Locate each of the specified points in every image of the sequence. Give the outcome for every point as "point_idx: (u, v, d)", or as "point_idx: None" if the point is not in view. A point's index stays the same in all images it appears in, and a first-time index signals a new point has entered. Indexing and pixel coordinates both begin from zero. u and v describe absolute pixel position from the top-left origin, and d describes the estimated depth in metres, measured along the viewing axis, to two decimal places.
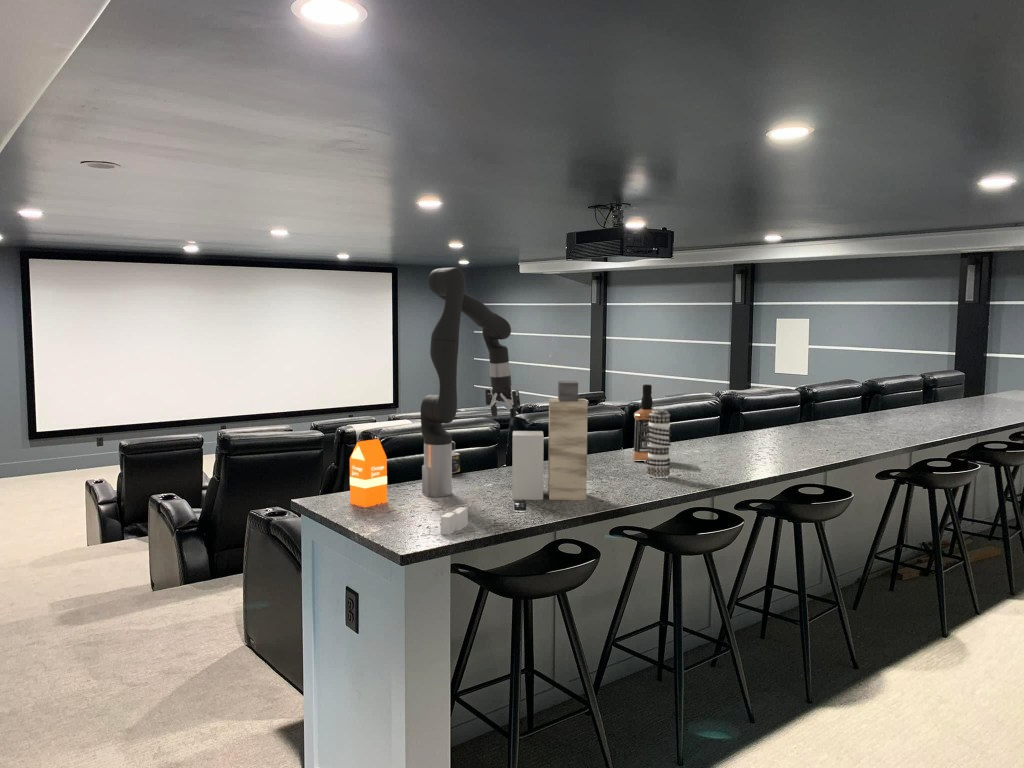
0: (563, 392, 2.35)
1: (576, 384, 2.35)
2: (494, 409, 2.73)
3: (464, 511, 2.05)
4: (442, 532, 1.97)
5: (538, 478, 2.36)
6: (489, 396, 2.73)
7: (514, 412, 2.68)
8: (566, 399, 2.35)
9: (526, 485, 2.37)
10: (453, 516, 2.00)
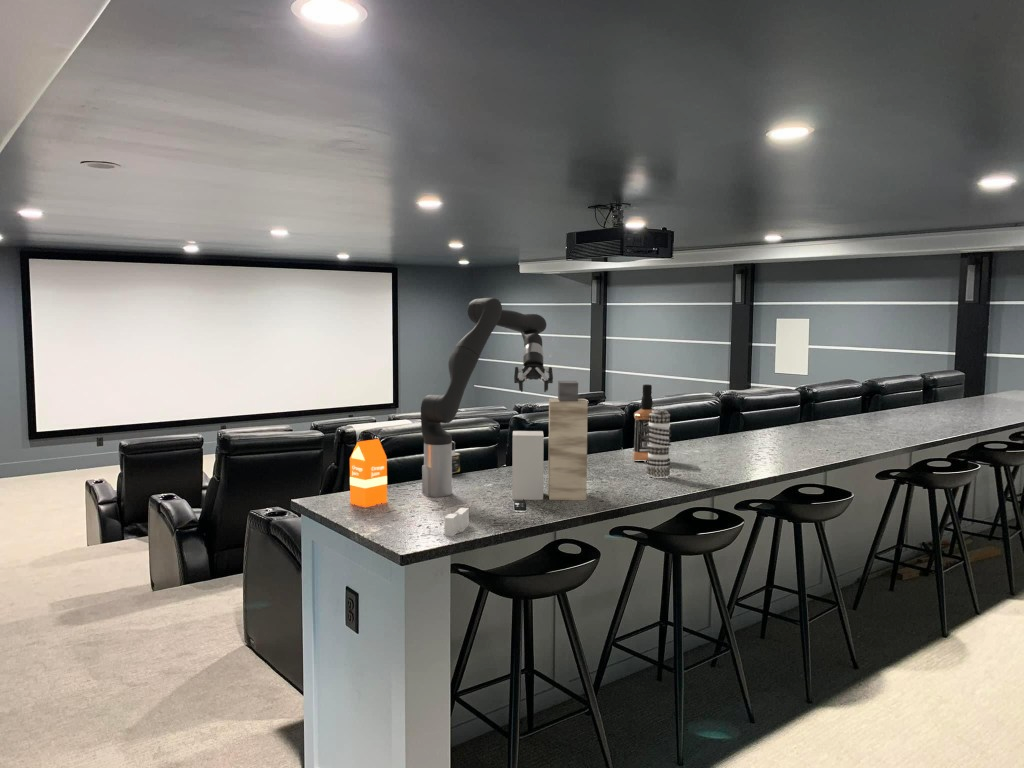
0: (563, 392, 2.35)
1: (576, 384, 2.35)
2: (522, 384, 2.67)
3: (466, 512, 2.04)
4: (446, 533, 1.96)
5: (538, 478, 2.36)
6: (517, 374, 2.71)
7: (547, 385, 2.67)
8: (566, 399, 2.35)
9: (526, 485, 2.37)
10: (456, 517, 1.99)
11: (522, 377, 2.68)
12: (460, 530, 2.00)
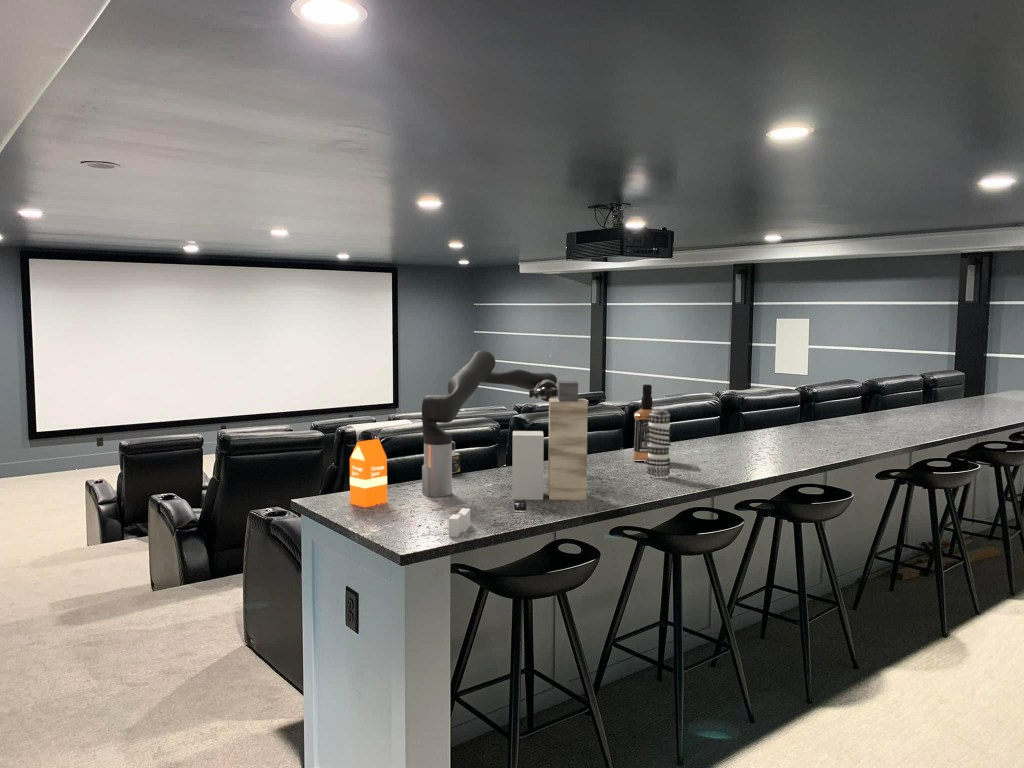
0: (563, 392, 2.35)
1: (576, 384, 2.35)
2: None
3: (468, 512, 2.03)
4: (450, 534, 1.95)
5: (538, 478, 2.36)
6: (532, 392, 2.71)
7: None
8: (566, 399, 2.35)
9: (526, 485, 2.37)
10: (460, 518, 1.98)
11: (537, 390, 2.68)
12: (463, 531, 1.99)
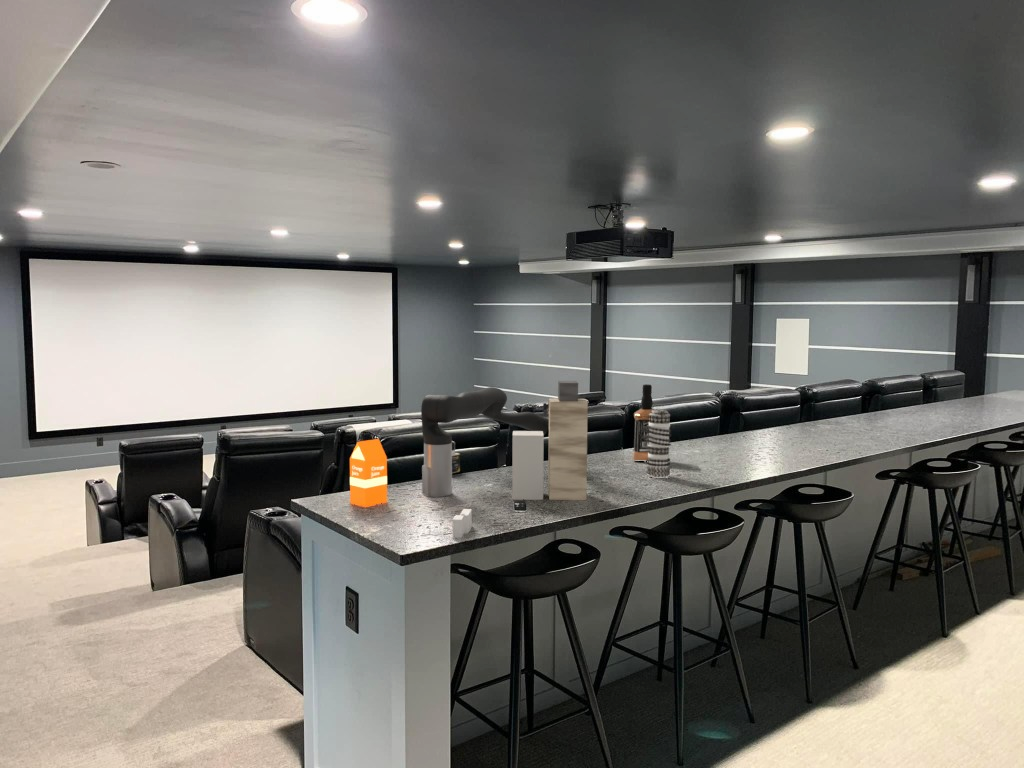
0: (563, 392, 2.35)
1: (576, 384, 2.35)
2: None
3: (470, 513, 2.03)
4: (454, 535, 1.94)
5: (538, 478, 2.36)
6: (546, 408, 2.69)
7: None
8: (566, 399, 2.35)
9: (526, 485, 2.37)
10: (463, 518, 1.97)
11: None
12: (466, 531, 1.99)
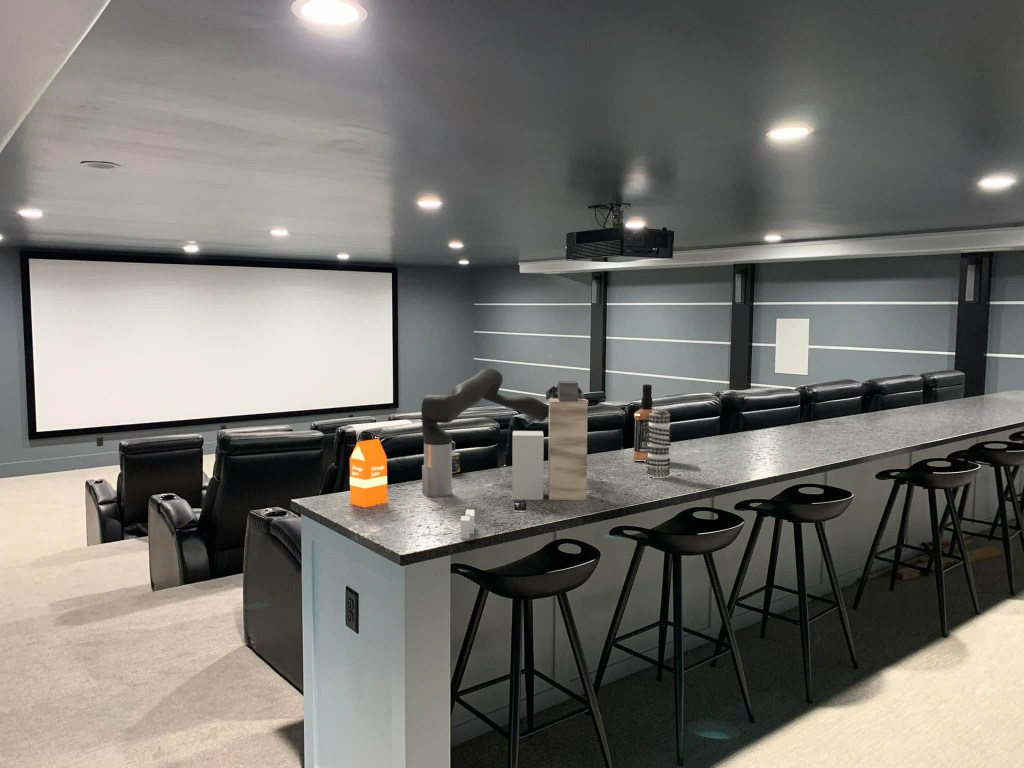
0: (563, 392, 2.35)
1: (576, 384, 2.35)
2: None
3: None
4: (462, 536, 1.93)
5: (538, 478, 2.36)
6: None
7: None
8: (566, 399, 2.35)
9: (526, 485, 2.37)
10: None
11: None
12: (472, 532, 1.98)
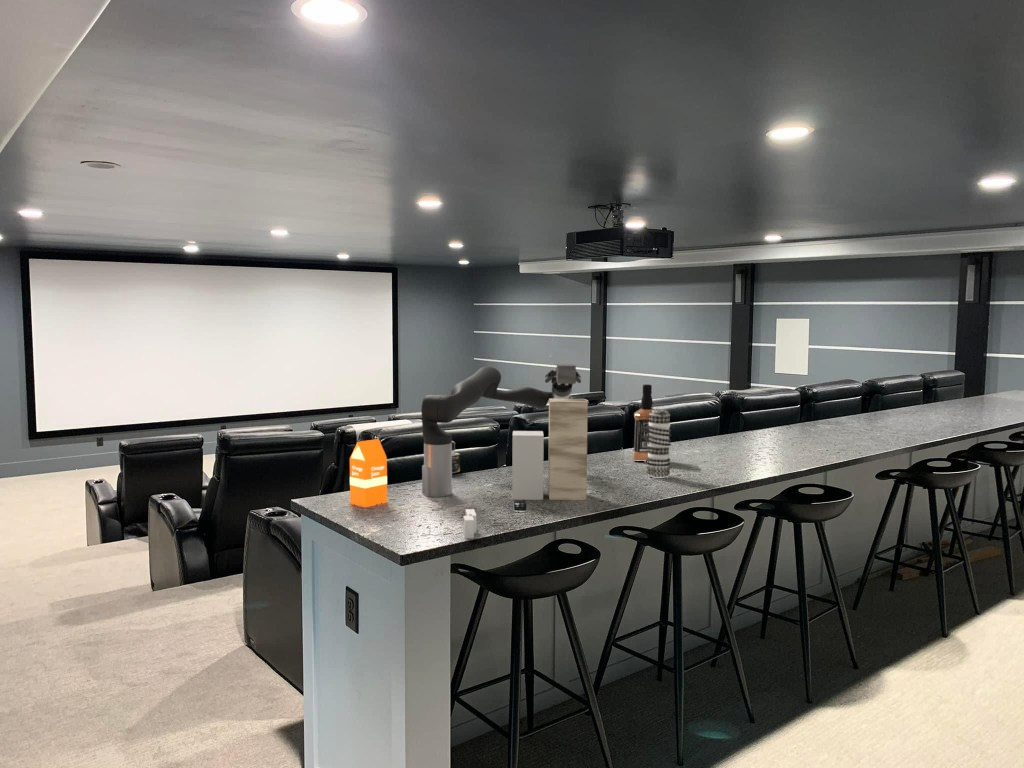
0: (561, 374, 2.46)
1: (574, 367, 2.46)
2: None
3: None
4: (466, 536, 1.94)
5: (538, 478, 2.36)
6: None
7: None
8: (564, 381, 2.46)
9: (526, 485, 2.37)
10: (472, 518, 1.97)
11: None
12: (474, 531, 1.99)
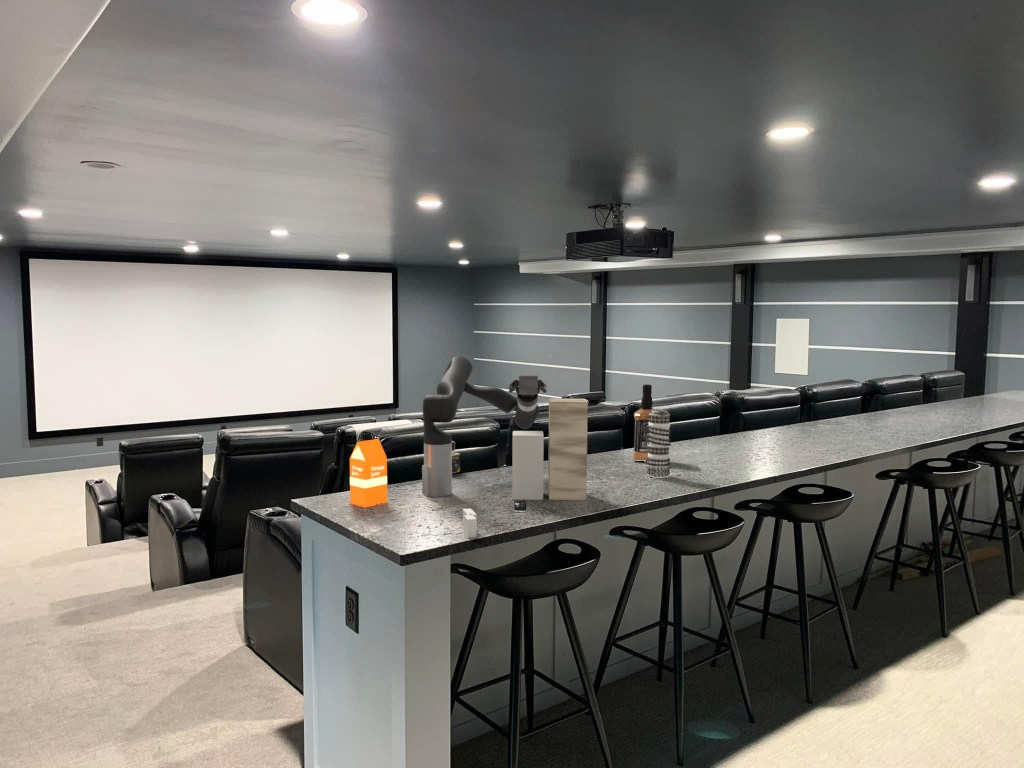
0: (522, 385, 2.35)
1: (536, 377, 2.35)
2: None
3: None
4: (469, 535, 1.94)
5: (538, 478, 2.36)
6: None
7: None
8: (526, 392, 2.35)
9: (526, 485, 2.37)
10: None
11: None
12: None
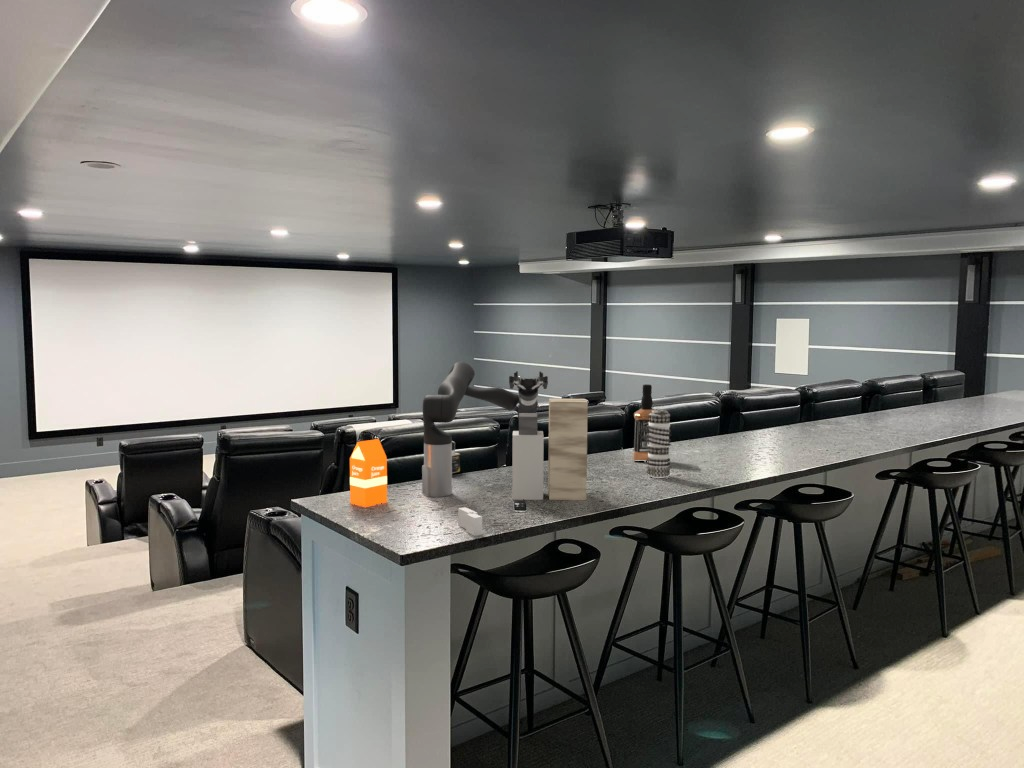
0: (522, 425, 2.36)
1: (535, 418, 2.36)
2: None
3: None
4: (476, 533, 1.96)
5: (538, 478, 2.36)
6: (512, 381, 2.71)
7: None
8: (525, 433, 2.37)
9: (526, 485, 2.37)
10: None
11: None
12: None
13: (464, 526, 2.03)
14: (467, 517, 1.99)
